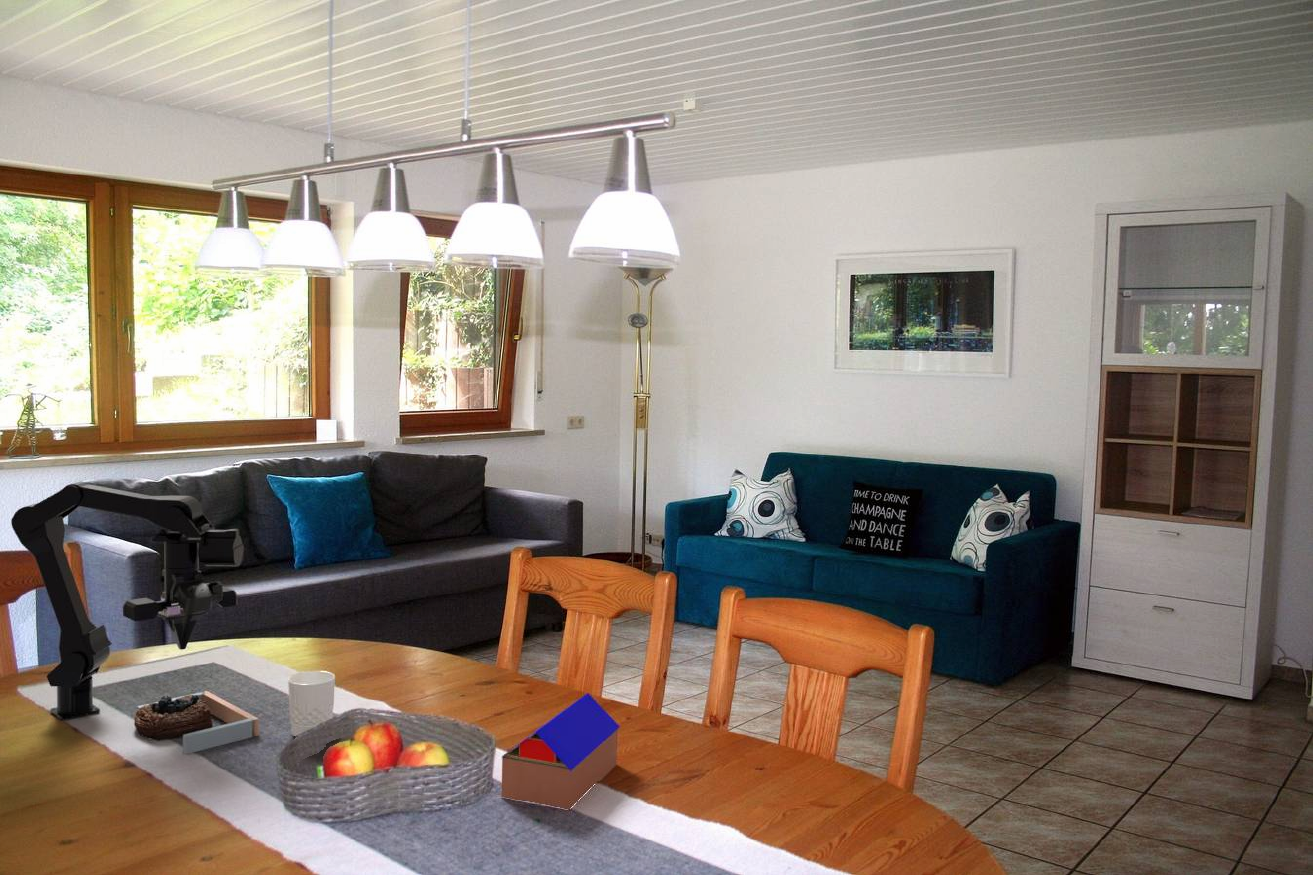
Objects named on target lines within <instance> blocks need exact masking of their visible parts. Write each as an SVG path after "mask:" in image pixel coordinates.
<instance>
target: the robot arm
mask: <svg viewBox="0 0 1313 875" xmlns="http://www.w3.org/2000/svg"><path fill="white" fill-rule="evenodd" d="M80 507H82V508H87V509H92V510H93V509H94V510H98V511H104V512H108V513H114V514H121V515H125V516H131V517H136V518H139V519H140V518H141V519H143V520H145V521H148V522H149V523H151V524H152V525H153V526H157V527H160V530H159V531H158V532H157V534H156V535H155V536H153V537H152V538H151V541H152V542H153V543H163V546H164V548H163V549H164V550H163V551H164V557H163V558H164V569H162V570H161V576H163V577H164V591H163V592H161V598H162V599H164V600H157V601H155V600H152V599H151V598H148V597H141V598H135V599H128V600H126V601H125V603H124V604H123V606H122V616H123V617H125V618H127V619H129V620H131V621H134V622H141V621H142V622H143V621H147V620H154V619H155V618H156V617H159V618H161V619H162V620H163V621H164V622H165V623H166V625H167V627H168V629H169V631H170V633H171V634H172V638H173V639H174V641H175V644H176V645H177V648H178V649H179V650H181V651H182V650H185V649H186V648H187V646H188V643H189V641H190V638H191V636H192V632H193V630H194V627H195V626H196V623H197V622H198V621H199V619H200V618H201V617H203V616H204V615H205V616H206V615H207V614H208V612H209V611H211V610H212V608H213V604H217V605H218V606H219V607H221V608H222V609H223V608H229V607H236V606H238V604H239V603H238V602H239V601H238V600H239V599H238V593H237V591H235V590H234V589H232V588H229V587H226V586H223V584H222V583H221V582H220V580H218V581H211V582H208V583H205V582H204V580H203V574H202V573H203V572H202V571H201V570H199V569H200V565H199V564H202V563H203V564H204V566H205V567H239V566H241V564H242V561H243V557H244V549H245V548H244V547H245V546H244V544H243V541H242V540H243V539H242V537H241V536H240V529H238V528H231V529H216V528H215V526H214V525H213V524H212V523H211V521H210V520H209V519H208V517H207V516H206V515H205V513H204V512H203V507H202V504H201V503H200V501H199V500H198V498H196V497H193V496H192V495H173V494H172V495H147V494H142V493H139V492H138V493H137V492H132V491H126V490H121V489H115V488H111V487H106V486H99V485H95V484H90V483H88V482H85V481H78V482H74V483H70V484H67V485H66V486H64V487H63V488H62V489H60V490H59V491H57V492H55V493H54V494H52V495H50V496H48V497H47V498H45V499H43V500H40V501H39V502H37V503H33V504H30V505H26V506H23V507H20V508H18V510H17V511H15V512H14V515H13V516H12V518H11V528H12V530H13V531H14V534H15V535H16V536H17V538H18V540H19V542H20V544H21V545H22V546H23V547H24V548H25V549H26V550H27V551H28V552H29V553H30V554H31V555H32V556H33V558H34V559H35V562H36V565H37V568H38V571H39V573H40V577H41V579H42V581H43V584H44V587H45V590H46V593H47V596H48V599H49V602H50V605H51V607H52V610H53V613H54V615H55V619H56V622H57V624H58V627H59V630H60V631H59V632H60V634H59V639H58V640H59V641H58V642H59V643H58V653H59V660H60V663H58V665H56V666H55V667H54V668H53V669H52V670H51V671H50V672H48V674H47V675H46V678H47V681H48V683H49V685H50V687H56V706H57V707H52V708H50V713H51V714H53V715H54V716H56V718H58V719H59V720H62V721H64V720H68V719H69V720H70V719H73V718H78V716H79V717H83V716H88V715H91V714H92V713H93V714H97V713H99V712H101V709H100V708H99V707H98V706H96V705H95V704H94V696H93V689H94V688H93V684H94V683H93V681H94V680H93V676H94V675H95V674H97V673H98V672H99V671H100V668H101V666H102V665H103V664H104V663H105V662H106V661H107V660H108V658H109V656H110V654H111V652H110V651H111V650H110V646H112V644H113V643H112V642H111V640H109V638H108V635H107V629H106V627H105V625H104V624H102V625H99V626H98V627H97V626H96V625H94V623H92V621H90V619H89V617H88V614H87V611H86V609H85V605H84V603H83V600H82V597H81V594H80V592H79V588H78V586H77V583H76V580H75V577H74V574H73V572H72V569H71V566H70V563H69V561H68V558H67V555H66V552H65V548H64V542H65V532H66V530H65V522H64V519H65V518H66V517H67V516H70V515H71V514H72V513H74V512H75V511H76V510H77V509H78V508H80ZM199 561H200V563H199ZM87 714H88V715H87ZM93 714H92V715H93Z"/></svg>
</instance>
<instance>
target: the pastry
mask: <svg viewBox="0 0 1313 875" xmlns="http://www.w3.org/2000/svg"><path fill="white" fill-rule="evenodd" d="M183 696H184V697H182V696H180V697H181V698H179V699H175V700H174V701H172V699H173V698H172V697H171V696H170V695H164V696H161V698H160V699H159V700H158V701H157V702H158V703H154V702H151V703H148V704H149V705H145V704H144V705H145V706H143V707H141V709H140V710H138V711H137V710H136V712H135V717H134V727H135V729H136V731H137V732H138V734H139V735H140V736H142V735H143V736H142V737H144V738H146V737H147V739H149V738H150V739H149V740H153V739H154V741H155V740H156V741H155V742H160V740H161V741H166V740H172V739H176V738H180V736H181V737H183V735H184V734H189V733H193V732H197V731H201V730H205V729H209V728H213V727H214V726H213V721H212V718H213V717H212V712H211V710H210V708H209V707H208V706H207V703H206V702H207V701H205V700H203V702H202V701H201V699H200V698H199V697H198V695H191V694H188V696H186V695H183Z"/></svg>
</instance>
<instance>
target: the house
mask: <svg viewBox="0 0 1313 875" xmlns="http://www.w3.org/2000/svg"><path fill="white" fill-rule="evenodd" d="M620 728H621V726H620V725H619V724H618V723H617V722H616V721H615V720H614V718H613V717H612V716H611V715H610V714H609V713H608V712H607V711H606V710H605V709H604V708H603V707H602V705H600V704H599V703H598V702H597V701H596V699H595V698H594V697H592V695H591V694H590V693H589V692H587V693H585V694H584V695H583V696H581V697H580V698H578V699H577V700H576V701H574V702H573V703H572V704H570V705H569V706H568V707H566V708H565V709H564V710H562V711H561V712H559V713H558V714H557V715H555V716H554V717H552V718H551V719H550V720H549V721H548V722H546V723H545V724H543V725H542V726H541V727H540V728H538V729H537V730H535V731H534V732H533V733H531V734H530V735H529V736H527V737H526V738H524V740H522V741H521V742H519V743H518V744H516V745H515V746H514V747H512V748H511V749H510V750H508V751H507V752H506V753H504V754H503V755H502V756H501V764H502V765H501V798H502V797H505V798H509V799H510V798H511V799H515V800H522V801H529V802H535V803H539V804H545V805H550V806H554V807H560V808H564V809H568V810H569V809H570V808H571V807H572V806H573V805H574V804H575V803H576V802H577V801H578V800H579V799H580V798H581V797H582V796H583V795H584V794H585V793H586V792H587V791H588V790H589V789H590V788H591V787H592V786H593V785H594V784H596V783H597V782H598V781H599V782H601V780H603V779H604V778H605V777H606V776H607V775H608V774H609V773H610V772H611V771H612V770H613V769H614V768H615V767H616V766H617V765H618V764H617V763H618V762H617V760H618V731H619V729H620ZM599 782H598V783H599ZM598 783H597V784H598ZM597 784H596V785H597Z"/></svg>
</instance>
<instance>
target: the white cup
mask: <svg viewBox="0 0 1313 875" xmlns="http://www.w3.org/2000/svg"><path fill="white" fill-rule="evenodd" d="M287 681H288V682H287V684H288V686H287V687H288V707H289V718H290V726H291V727H290V728H291V731H290V732H291V735H292V736H293V737H294V736H296V735H298V734H300V733H302V732H304V731H306V730H308V729H311V728H313V727H315V726H317V725H319V724H320V723H322V722H325V721H326V720H329V719H331V718H332V719H333V716H334V712H333V711H334V703H335V702H334V701H335V684H336V683H335V681H336V674H334V673H332V672H330V671H325V670H310V671H309V670H308V671H302V672H297V673H294V674H292V675H290V676H289V677H288V679H287Z"/></svg>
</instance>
